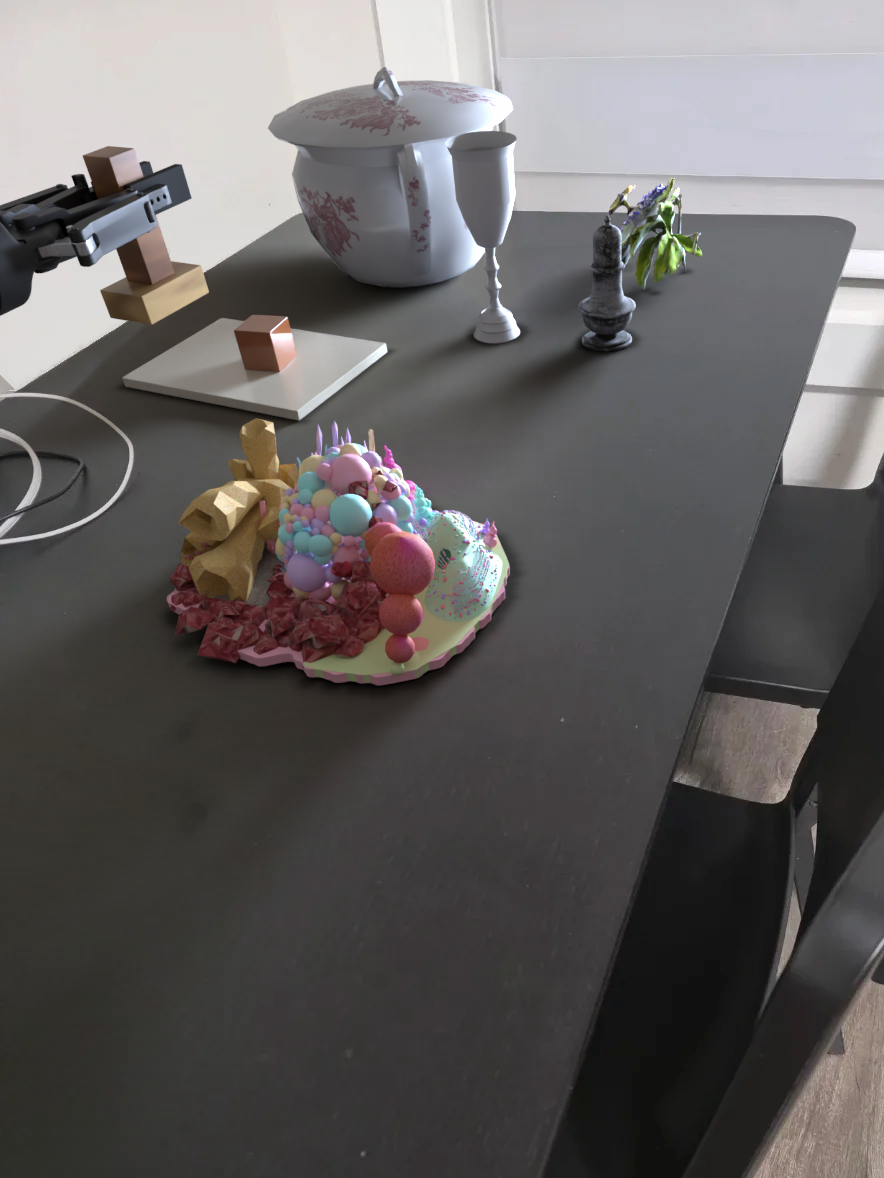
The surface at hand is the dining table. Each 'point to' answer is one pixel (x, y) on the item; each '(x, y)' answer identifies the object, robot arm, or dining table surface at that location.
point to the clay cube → (265, 343)
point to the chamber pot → (388, 175)
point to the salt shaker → (607, 294)
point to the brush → (141, 252)
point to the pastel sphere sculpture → (333, 566)
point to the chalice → (487, 213)
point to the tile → (220, 377)
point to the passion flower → (648, 220)
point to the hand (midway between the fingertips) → (167, 179)
